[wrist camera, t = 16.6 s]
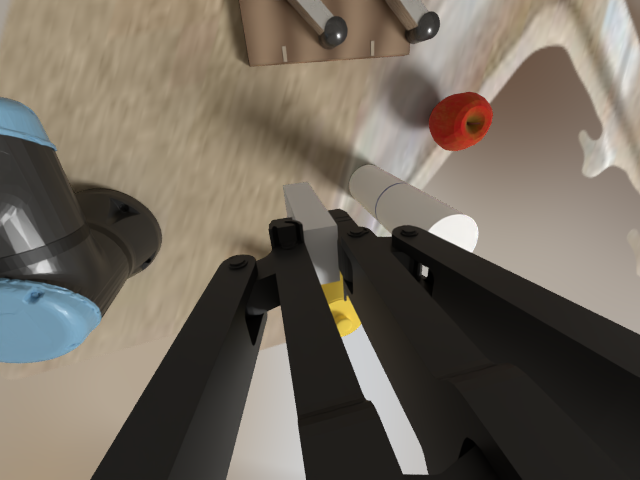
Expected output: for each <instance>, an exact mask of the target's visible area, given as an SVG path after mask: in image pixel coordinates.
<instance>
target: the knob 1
mask: <svg viewBox="0 0 640 480" xmlns="http://www.w3.org/2000/svg"><path fill="white" fill-rule="evenodd" d="M287 1H288V2H289V3H290V4H291V5H292V6H293V7H294V8H295V10H296V11H297V12H298V13H299V14H300V15H301V16H302V17H303V18H304V19H305V21H306V22H307V23H308V24H309V25H310V26H311V27H312V28H313V29H314V30H315V32H316V33H317V34H318V39H319V43H320V45H321V46H322V47H323V48H324V49H327V50H331V49H333V48H335V47H337V46H338V45H340V44H342V43H343V42H344V41H345V39H346V37H347V33H348V28H347V24H346V22H345V21H344V19H342V18H341V17H339V16H333V14H332V13H331V12H330V11H329V10H328V9H327V7H326V6H325V5H324V4H323V3H322V1H321V0H287Z"/></svg>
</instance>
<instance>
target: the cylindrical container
mask: <svg viewBox="0 0 640 480" xmlns="http://www.w3.org/2000/svg"><path fill="white" fill-rule="evenodd" d="M349 190H350V193H351V195H352V196H353V197H354V198H355V199H356V200H357V201H358V202H359V203H360V204H361V205H362V206H363V207H364V208H365V209H366V210H367V211H368V212H369V213H370V214H371V215H372V216H373V217H374V218H375V219H376V220H377V221H378V222H379V223H381V224H382V225H383V226H384V227H385V228H386V229H387V230H388V231H389V232H390V233H391V234H392V230H393V229H394V228H396V227H398V226H402V225H411V226H416V227H419V228H422V229H424V230H426V231H428V232H430V233H432V234H434V235H436V236H438V237H440V238H442V239H444V240H446V241H448V242H451V243H453V244H455V245H457V246H459V247H461V248H463V249H465V250H467V251H469V252H471V253H472V251H473V249H474V248H475V246H476V243H477V240H478V227H477V225H476V223H475V221H474V220H473V219H472V218H471V217H469V216H467V215H465V214H463V213H461V212H459V211H458V210H456V209H454V208H452V207H450V206H448V205H447V204H445V203H443V202H441V201H439V200H438V199H436V198H434V197H432V196H430V195H428V194H426V193H425V192H423V191H421V190H419V189H417V188H416V187H414V186H412V185H410V184H408V183H406V182H405V181H403V180H401V179H399V178H397V177H395V176H393V175H392V174H390V173H388V172H386V171H384V170H382V169H380V168H379V167H377V166H374V165H364V166H362V167H360V168H358V169H357V170H356V171H355V172H354V173H353V174H352V176H351V178H350V181H349ZM426 268H427V267H426Z"/></svg>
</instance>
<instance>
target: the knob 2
mask: <svg viewBox="0 0 640 480" xmlns="http://www.w3.org/2000/svg"><path fill="white" fill-rule="evenodd" d="M385 1H386V2H387V4H388V5H389V6H390V8H391V9H392V11H393V12H394V13H395V15H396V16H397V17H398V19H399V20H400V21H401V23H402V24H403V25H404V27H405V28H406V29H405V37H406V40H407V41H408V42H409V43H411V44H416V43H419V42H422V41H425V40H428V39H431V38H433V37H434V36H435V35H436V34H437V32H438V30H439V27H440V20H439V17H438V15H437V14H436V13H435V12H428V10H427V9H426V7H425V6H424V4H423V3H422V1H421V0H385Z"/></svg>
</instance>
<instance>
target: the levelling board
mask: <svg viewBox="0 0 640 480" xmlns="http://www.w3.org/2000/svg"><path fill="white" fill-rule="evenodd" d="M321 1H322V3H323V4H324V5H325V6H326V7H327V9H328V10H329V11H330V12H331V13H332V14H333V16H339V17H341V18H342V19H344V21H345V22H346V24H347V28H348V33H347V37H346V39H345V41H344V42H343V43H342V44H340V45H338V46H337V47H335V48H333V49H331V50H327V49H324V48H323V47H322V46H321V45H320V43H319V39H318V34H317V33H316V32H315V30H314V29H313V28H312V27H311V26H310V25H309V24H308V23H307V22H306V21H305V19H304V18H303V17H302V16H301V15H300V14H299V13H298V12H297V11H296V10H295V8H294V7H293V6H292V5H291V4H290V3H289V2H288V1H287V0H239V4H240V10H241V16H242V22H243V28H244V34H245V40H246V46H247V52H248V58H249V64H250V67H251V66H265V65H279V64H293V63H307V62H322V61H336V60H350V59H364V58H378V57H393V56H404V55H408V54H409V52H410V43H409V42H408V41H407V40H406V37H405V29H406V28H405V27H404V25H403V24H402V23H401V21H400V20H399V19H398V17H397V16H396V15H395V13H394V12H393V11H392V9H391V8H390V6H389V5H388V4H387V2H386V1H385V0H321Z"/></svg>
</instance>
